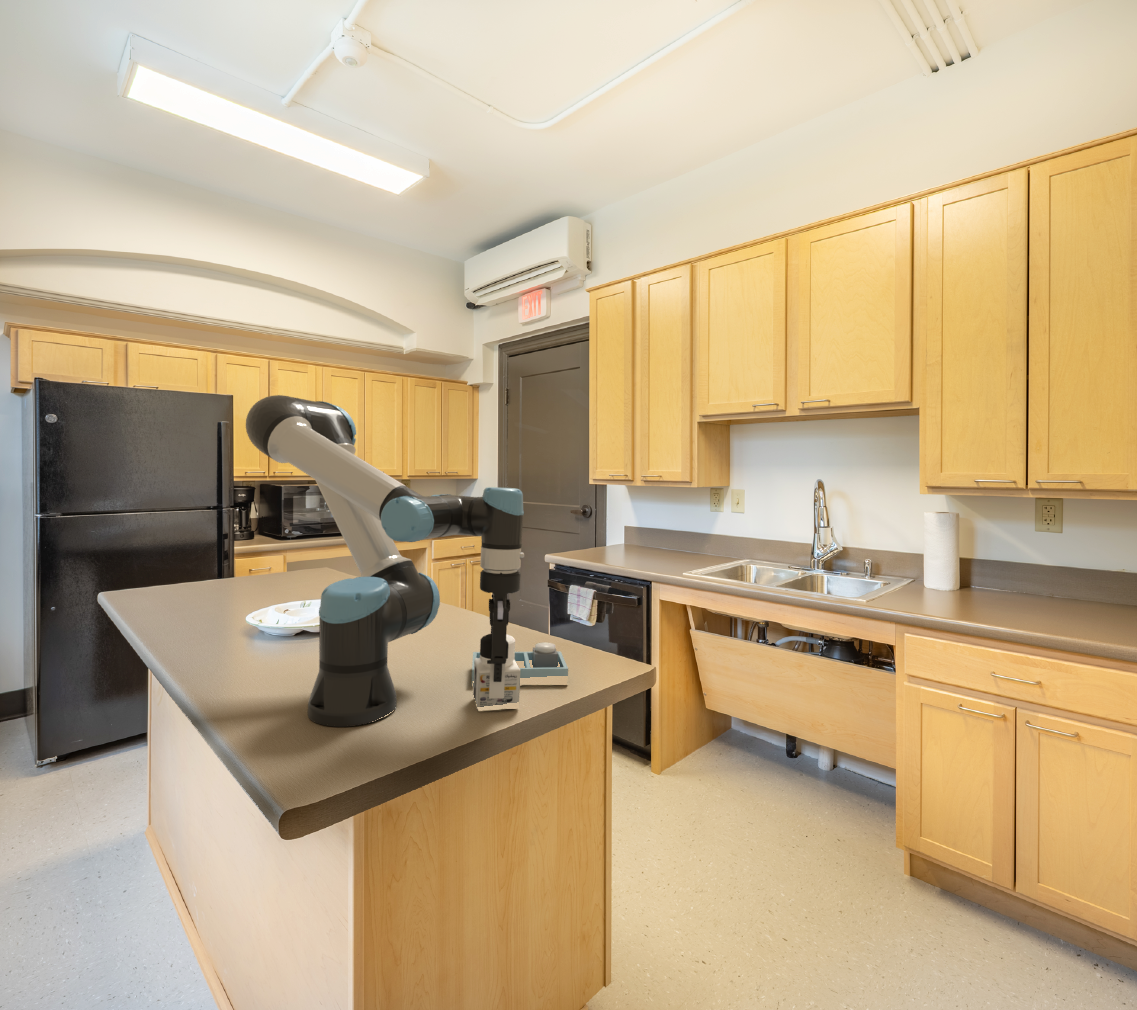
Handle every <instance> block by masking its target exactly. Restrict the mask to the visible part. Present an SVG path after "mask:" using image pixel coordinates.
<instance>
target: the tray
mask: <svg viewBox="0 0 1137 1010" xmlns="http://www.w3.org/2000/svg"><path fill="white" fill-rule="evenodd" d="M475 658H480V651H473V652H472V661H471V663H472V664H471V665H472V667H471V682H472V681H474V660H475ZM529 660H532V665H533V668H531V667H530V663H529ZM515 661H524V666H525V668H520V678H530V677H547V676H568V677H569V667H568V664H567V663H566V660H565V658H564V656H563V653H562V651H560V650H559V651H558V650H557V649H556V644H555V643H553V642H545V641H544V642H538V643H536V644H535V645H534V646H533V647H532V651H515ZM558 662H559V664H560V667H557V666H558Z"/></svg>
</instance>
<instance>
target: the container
mask: <svg viewBox="0 0 1137 1010" xmlns="http://www.w3.org/2000/svg"><path fill="white" fill-rule="evenodd" d="M479 643H480V645H479V652H480V658H475V660H474V683H473V687H472V691H473V692H472V696H473V695H474V697H473V699H474V698H475V701H476V704H477V707H484V706H493V705H503V704H507V703H517V702H519V703H520V691H521V689H520V688H521V686H520V668H519V666H518V665H517V663H516V661H515V652H516V639H515V638H514V636H512V635H510V634H507V633H506V663H505V686H504V698H489V685H490V664H487V660H491V657H492V634H491V633H488V634H486V635H484V636H482V637H481V638H480V642H479ZM495 657H502V656H495ZM475 701H474V702H475ZM476 704H475V705H476Z"/></svg>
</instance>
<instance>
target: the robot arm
mask: <svg viewBox="0 0 1137 1010" xmlns="http://www.w3.org/2000/svg"><path fill="white" fill-rule="evenodd" d="M355 424H356V423H355V422H354V420H353V418H352V417H351V415H350V414H349V413H348V411H346V410H345V409H343V408H342V407H341V406H338V405H336V404H333V403H330V402H327V401H323V400H322V401H321V400H320V401H319V400H318V401H317V400H315V401H314V400H309V399H303V398H298V397H293V396H289V395H283V394H282V395H281V394H277V395H276V394H275V395H270V396H266V397H263V398H261V399H260V400H258V401H256V402H255V403H254V404H253V405H252V406H251V408H250V409H249V411H248V413H247V416H246V418H245V430H246V435H247V437H248V438H249V440H250V441H249V442H251V443H252V445H253V446H254V447H256V449H257V450H258V451H260V452H261V453H263V454H264V455H265V456H267V457H268V458H270V459H272V460H273V461H275V462H277V463H280V464H290V465H292V466H293V467H295V468H296V469H298V470H300V471H301V472H303V473H305V474H306V475H308V476H309V477H311V478H312V479H314V480H315V482H316V484H317V486H318V488H319V491H320V493H321V496H323V499H324V501H325V503H326V505H327V507H328V509H329V511H330V514H331V515H332V518H333V519H334V522H335V524H336V526H337V528H338V530H339V532H340V534H341V537H343V541H344V542H345V544H346V547H347V548H348V550H349V552H350V555H351V556H352V559H353V560H354V563H355V565H356V567H357V568H358V571H359V573H360V576H357V577H354V578H344V579H342V580H341V579H340V580H338V581H335V582H333V583H331V584H328V585H327V587H325V588H324V589H323V590H322V592H321V595H320V604H319V605H320V606H319V608H318V609H319V610H318V615H319V625H318V626H319V628H318V629H319V633H318V635H319V636H318V637H319V642H318V643H319V644H318V645H319V646H318V647H319V649H318V650H319V651H318V652H319V660H318V663H319V666H318V667H319V668H318V674H317V676H316V679H315V682H314V685H313V687H312V690H311V693H310V694H309V699H308V701H307V716H308V719H310V721H312V722H314V723H316V724H319V725H322V726H327V727H338V728H339V727H340V728H342V727H355V726H354V725H357V726H362V725H361V724H363V725H367V724H366V723H368V724H370V723H369V722H372V721H375V720H377V719H379V718H381V717H384V716H385V715H387V714H389V713H390V712H392V711H393V710H394V709H395V707H396V708H397V692H396V689H395V685H394V682H393V679H392V676H391V673H390V669H389V667H388V654H389V653H388V652H389V651H388V649H389V647H388V646H389V643H390V642H393V641H395V640H398V639H400V638H403V637H406V636H408V635H414V634H416V633H418V632H419V631H421V630H423V629H424V628H426V627H428V626H429V625H430V624H431V623H432V622H433V621H434V620H435V619H436V617H437V615H438V613H439V612H438V611H439V609H440V608H439V607H440V605H441V598H440V597H441V595H440V590H439V588H438V586H437V584H436V582H435V581H434V580H433V579H432V578H431V577H430V576H429V575H426V574H424V573H423V572H418V570H417V567H416V566H415V564H414V562H413V560H412V559H411V558H407V557H405V556H403V555H401V553H400V551H399V548H398V547H397V544H396V543H395V541H396V542H400V543H401V542H403V543H404V542H407V543H413V542H420V541H423V540H428V539H435V538H443V537H450V536H469V537H471V536H472V537H481V546H480V561H479V562H480V563H479V564H480V565H479V567H480V568H481V569H482V570H481V571H480V574H479V575H480V576H479V578H480V579H479V589H480V591H481V592H483V593H487V594H491V598H489V599H488V611H489V626H490V634H492V657H491V660H487V664H490V685H489V698H504V686H505V663H506V634H507V632H508V631H507V626H508V625H509V622H510V621H509V619H510V611H511V602H510V600H511V599H510V598H507V595H508V594H515V593H518V592H519V591H520V589H521V572H520V569H521V563H522V560H521V559H523V558H525V553H524V552H522V545H523V544H522V541H523V539H522V536H523V520H524V514H525V511H524V494H523V491H522V490H521V489H519V488H514V487H513V488H512V487H495V486H494V487H493V486H491V487H490V486H488V487H485V488H484V490H483V493H482V496H466V495H455V494H450V493H449V494H448V493H441V494H432V495H431V496H430V495H429V496H427V495H426V496H424V495H422V494H420V493H418V492H416V491H415V490H413V489H412V488H410V487H408V486H406V485H405V484H403V483H402V482H400V481H399V480H397V479H395V478H394V477H392V476H390V475H389V474H387V473H385V472H384V471H382V470H381V469H379V468H377V467H375V466H374V465H372V464H370V463H369V462H367V461H365V460H364V459H362V458H360V457H359V456H358V455H355V454H356V451H357V449H356V447H355V444H356V441H357V439H356V438H355V435H357V430H356V425H355ZM495 656H502V657H495ZM395 710H396V709H395ZM375 722H376V721H375ZM372 723H373V722H372Z"/></svg>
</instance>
